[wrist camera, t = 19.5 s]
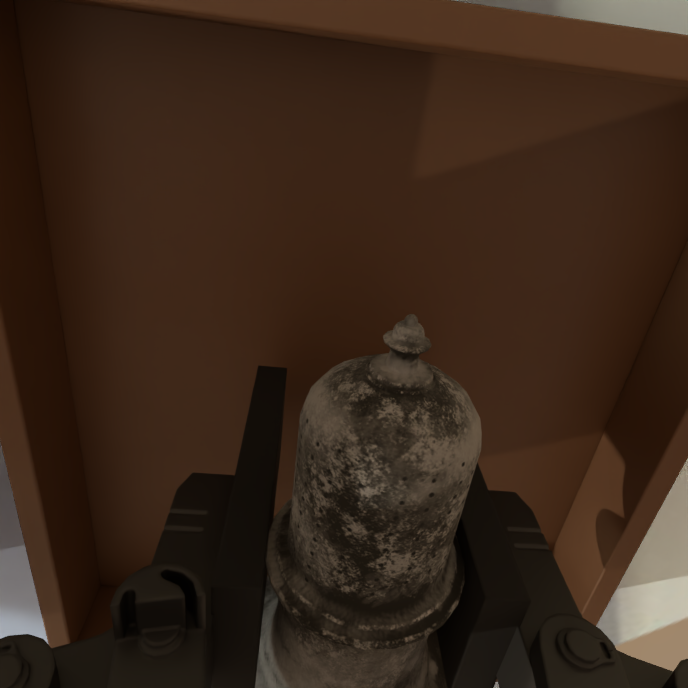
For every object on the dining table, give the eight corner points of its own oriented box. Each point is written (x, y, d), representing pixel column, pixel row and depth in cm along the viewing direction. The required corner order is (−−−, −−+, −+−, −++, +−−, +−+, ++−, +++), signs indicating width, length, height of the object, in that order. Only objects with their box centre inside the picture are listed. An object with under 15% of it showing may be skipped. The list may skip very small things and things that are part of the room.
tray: (534, 607, 21) (564, 685, 18) (89, 584, 20) (52, 665, 17) (776, 66, 12) (902, 66, 9) (-15, -48, 11) (-128, -86, 8)
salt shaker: (143, 795, 12) (82, 310, 6) (298, 604, 16) (344, 227, 11) (368, 1029, 9) (608, 570, 4) (477, 726, 14) (658, 318, 8)
